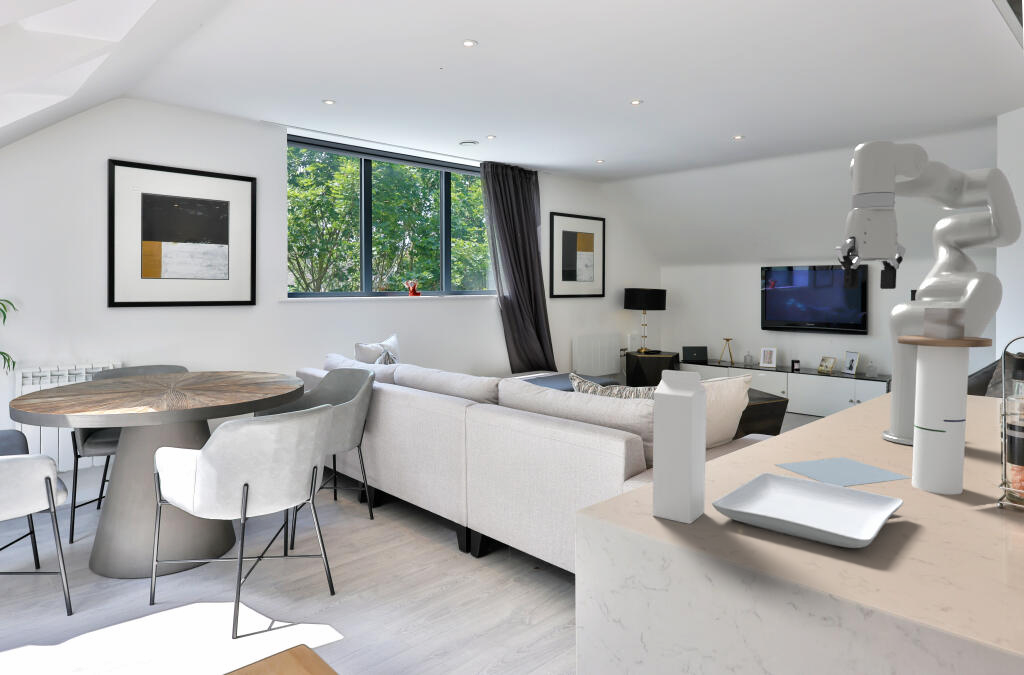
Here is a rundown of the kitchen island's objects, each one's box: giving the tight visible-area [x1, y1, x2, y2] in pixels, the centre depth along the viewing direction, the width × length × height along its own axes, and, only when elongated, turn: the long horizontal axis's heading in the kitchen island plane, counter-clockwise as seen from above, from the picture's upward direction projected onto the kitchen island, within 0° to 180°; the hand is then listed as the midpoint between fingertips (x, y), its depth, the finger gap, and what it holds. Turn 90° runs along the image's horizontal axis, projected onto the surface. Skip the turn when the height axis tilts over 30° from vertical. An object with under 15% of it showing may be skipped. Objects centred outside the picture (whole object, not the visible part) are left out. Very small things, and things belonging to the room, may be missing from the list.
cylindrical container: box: [911, 345, 970, 495], centre depth 106 cm, size 7×7×25 cm
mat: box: [774, 456, 912, 487], centre depth 117 cm, size 17×15×1 cm
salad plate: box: [711, 471, 904, 549], centre depth 94 cm, size 21×21×3 cm
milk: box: [652, 369, 708, 525], centre depth 95 cm, size 6×6×22 cm
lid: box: [898, 308, 993, 348], centre depth 105 cm, size 13×13×6 cm
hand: (869, 288), depth 129 cm, fingers open, 9 cm apart
